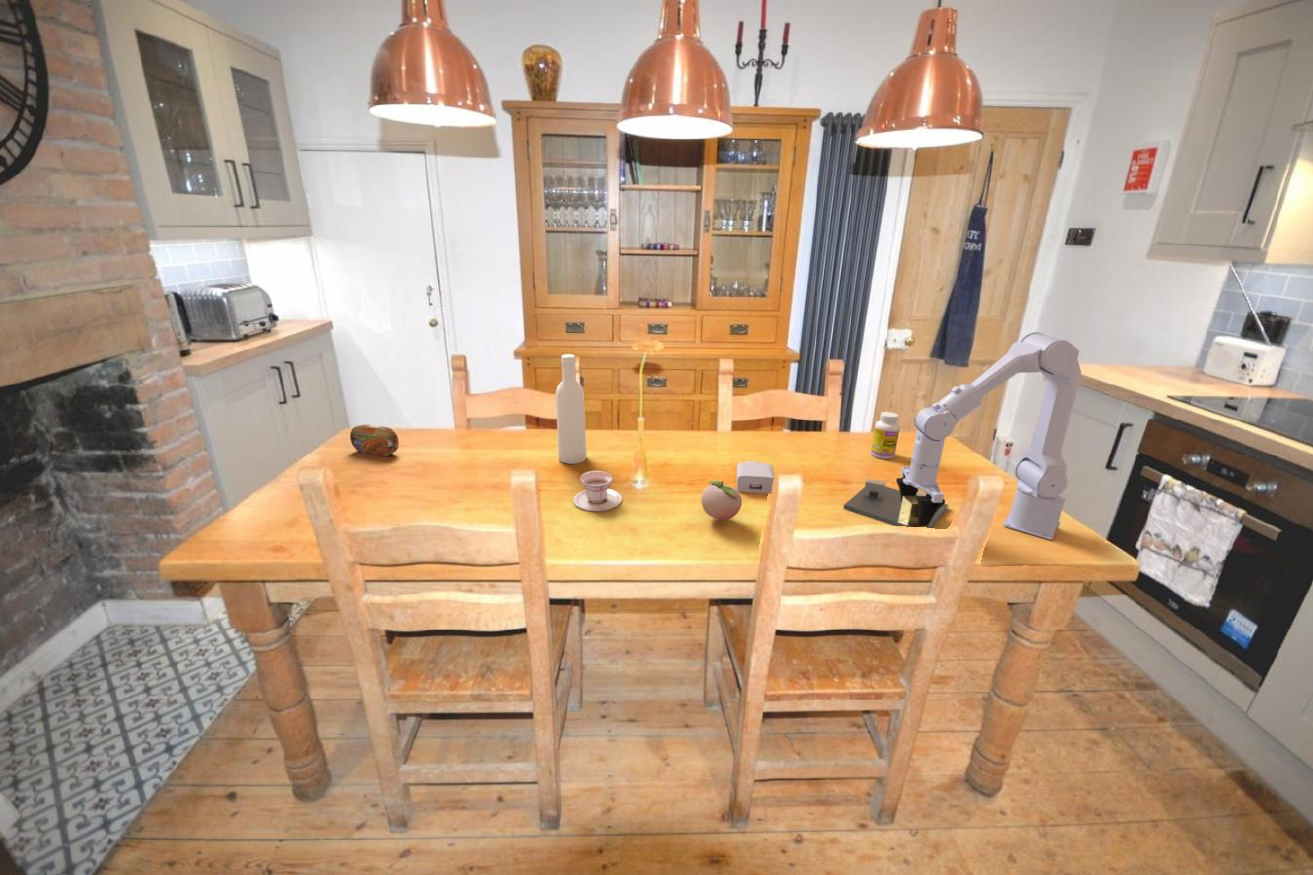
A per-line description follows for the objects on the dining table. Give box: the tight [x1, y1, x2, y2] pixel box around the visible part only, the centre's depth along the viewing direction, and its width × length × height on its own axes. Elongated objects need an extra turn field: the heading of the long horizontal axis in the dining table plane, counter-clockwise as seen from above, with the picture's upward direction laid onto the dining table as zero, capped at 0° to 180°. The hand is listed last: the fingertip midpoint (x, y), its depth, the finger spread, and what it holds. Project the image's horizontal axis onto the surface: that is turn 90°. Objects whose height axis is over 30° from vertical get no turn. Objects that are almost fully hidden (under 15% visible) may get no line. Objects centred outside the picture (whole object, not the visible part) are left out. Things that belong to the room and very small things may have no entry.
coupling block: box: [899, 495, 924, 524], centre depth 129 cm, size 5×4×5 cm
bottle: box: [555, 354, 587, 465], centre depth 157 cm, size 8×8×30 cm
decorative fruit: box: [700, 479, 743, 522], centre depth 128 cm, size 9×8×10 cm
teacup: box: [572, 470, 623, 512], centre depth 138 cm, size 12×12×6 cm
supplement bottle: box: [870, 411, 901, 460], centre depth 166 cm, size 7×7×13 cm
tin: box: [349, 424, 400, 457], centre depth 163 cm, size 15×3×8 cm, turn 73°
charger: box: [736, 460, 775, 494], centre depth 150 cm, size 5×9×15 cm
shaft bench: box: [843, 478, 949, 529], centre depth 136 cm, size 19×17×4 cm
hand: (914, 516), depth 130 cm, fingers open, 7 cm apart
